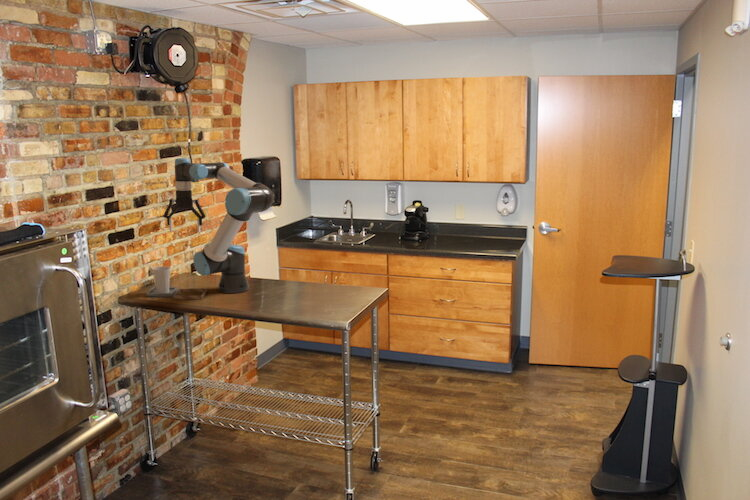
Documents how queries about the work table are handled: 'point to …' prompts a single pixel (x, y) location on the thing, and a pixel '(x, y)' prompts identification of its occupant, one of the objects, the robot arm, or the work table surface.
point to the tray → (153, 293)
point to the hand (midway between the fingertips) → (185, 231)
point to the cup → (162, 279)
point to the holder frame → (190, 296)
